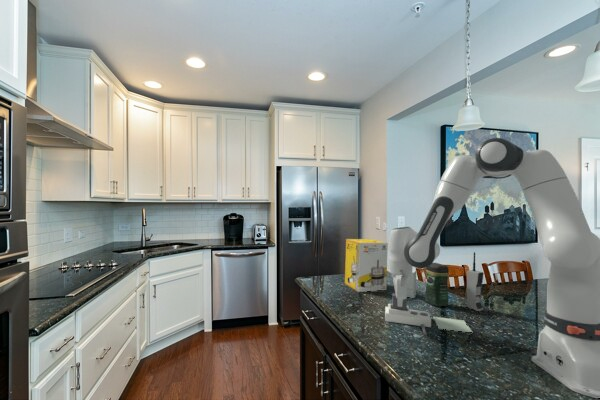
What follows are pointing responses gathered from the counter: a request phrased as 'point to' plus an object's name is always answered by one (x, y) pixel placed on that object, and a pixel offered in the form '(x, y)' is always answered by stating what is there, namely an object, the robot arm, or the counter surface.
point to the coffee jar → (437, 284)
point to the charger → (394, 303)
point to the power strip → (408, 317)
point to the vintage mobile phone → (474, 288)
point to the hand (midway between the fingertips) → (399, 303)
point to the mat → (452, 324)
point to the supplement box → (411, 285)
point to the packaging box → (366, 264)
